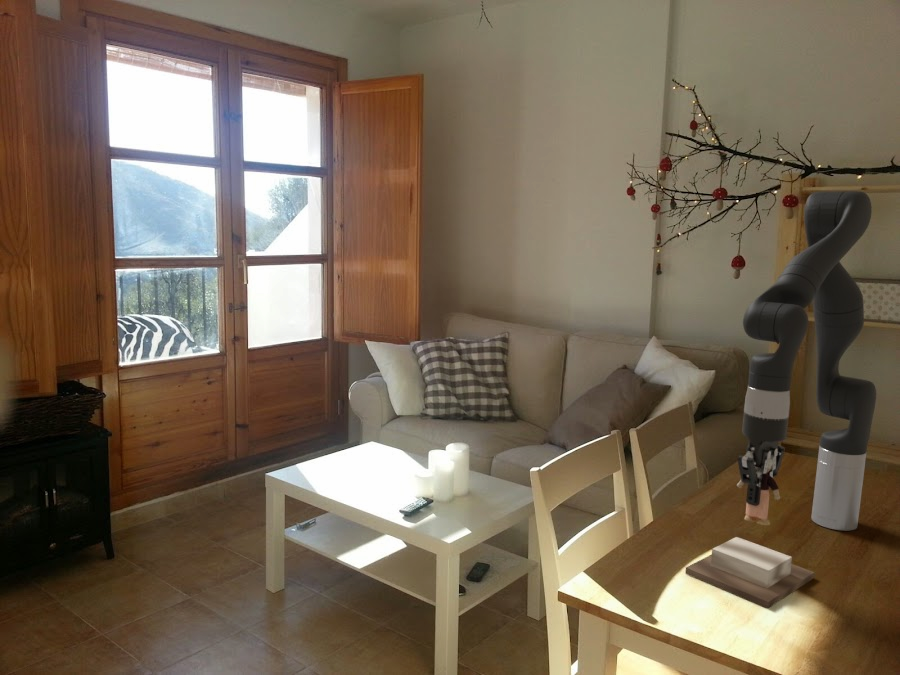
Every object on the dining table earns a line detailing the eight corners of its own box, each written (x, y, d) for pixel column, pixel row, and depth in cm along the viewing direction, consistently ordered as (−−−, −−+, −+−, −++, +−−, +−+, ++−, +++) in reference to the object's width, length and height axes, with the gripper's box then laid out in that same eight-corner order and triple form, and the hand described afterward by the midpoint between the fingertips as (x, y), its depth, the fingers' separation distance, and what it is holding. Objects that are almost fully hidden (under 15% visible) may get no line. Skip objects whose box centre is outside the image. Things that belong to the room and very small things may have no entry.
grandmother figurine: (776, 523, 137) (788, 457, 136) (774, 528, 134) (786, 460, 132) (733, 512, 141) (743, 447, 139) (730, 517, 137) (741, 450, 136)
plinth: (734, 548, 151) (736, 526, 150) (813, 578, 139) (816, 555, 138) (685, 573, 139) (687, 550, 139) (767, 608, 127) (770, 583, 127)
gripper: (767, 422, 127) (757, 517, 130) (804, 410, 136) (794, 500, 139) (727, 413, 133) (718, 504, 135) (764, 402, 142) (756, 488, 144)
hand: (757, 502), depth 137 cm, fingers closed on grandmother figurine, 2 cm apart
